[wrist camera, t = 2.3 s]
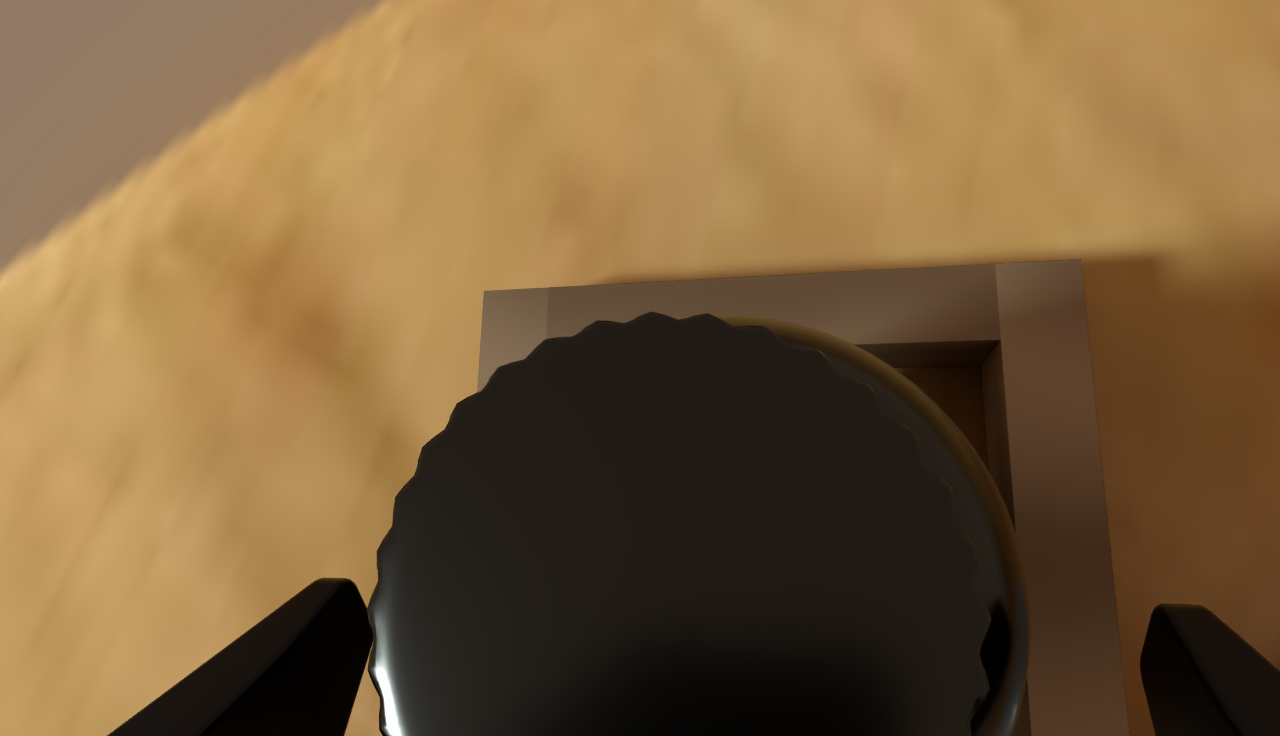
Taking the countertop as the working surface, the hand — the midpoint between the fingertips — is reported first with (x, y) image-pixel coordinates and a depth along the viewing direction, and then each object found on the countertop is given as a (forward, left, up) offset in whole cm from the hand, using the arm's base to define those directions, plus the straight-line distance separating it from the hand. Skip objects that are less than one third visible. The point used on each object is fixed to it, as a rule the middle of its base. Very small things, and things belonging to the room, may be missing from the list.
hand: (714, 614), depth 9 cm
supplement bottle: (0, 0, -9) cm, 9 cm away
